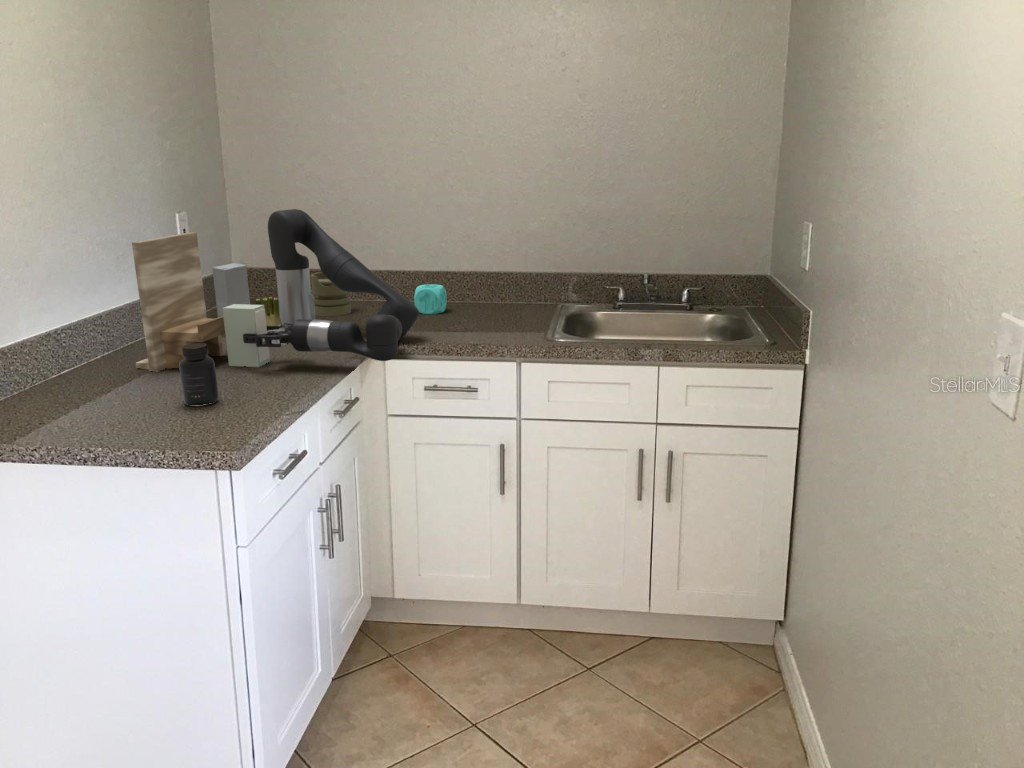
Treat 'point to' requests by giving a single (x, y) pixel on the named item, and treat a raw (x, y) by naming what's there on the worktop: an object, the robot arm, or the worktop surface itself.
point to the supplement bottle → (198, 375)
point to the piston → (329, 297)
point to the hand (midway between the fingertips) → (253, 334)
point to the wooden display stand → (173, 300)
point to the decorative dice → (430, 299)
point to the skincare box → (230, 286)
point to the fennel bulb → (271, 311)
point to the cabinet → (239, 323)
